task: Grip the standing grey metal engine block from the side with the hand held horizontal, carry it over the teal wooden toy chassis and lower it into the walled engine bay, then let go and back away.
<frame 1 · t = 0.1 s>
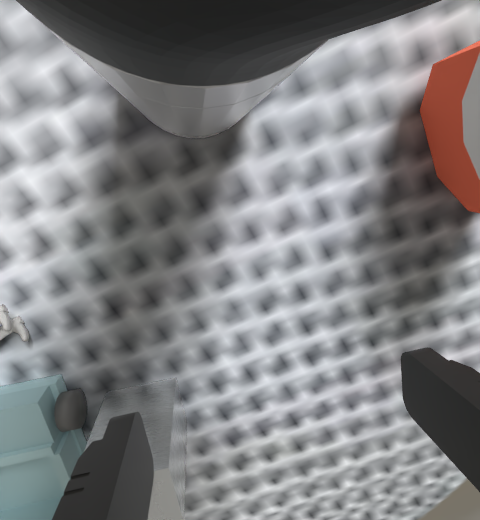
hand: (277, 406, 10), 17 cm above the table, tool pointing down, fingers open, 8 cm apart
engine block: (148, 406, 29), on the table
chassis: (31, 461, 29), on the table
french fries container: (448, 133, 26), on the table
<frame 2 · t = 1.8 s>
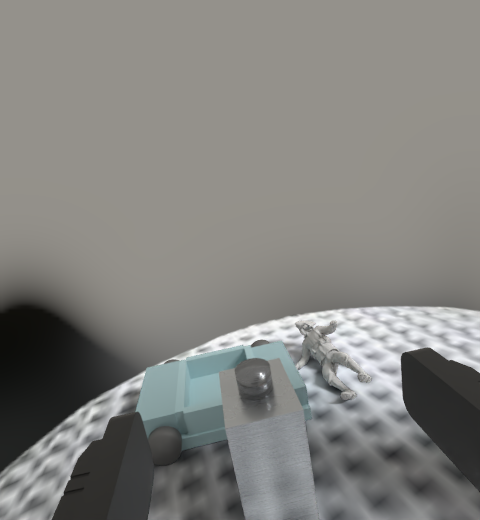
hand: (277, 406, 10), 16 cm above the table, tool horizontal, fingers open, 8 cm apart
engine block: (274, 490, 25), on the table
chassis: (223, 403, 35), on the table
soldier figure: (328, 371, 38), on the table
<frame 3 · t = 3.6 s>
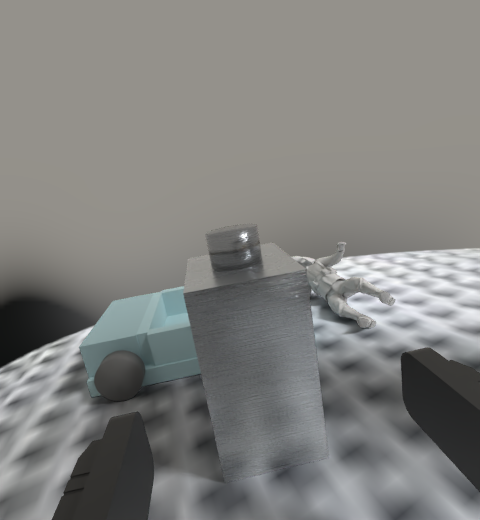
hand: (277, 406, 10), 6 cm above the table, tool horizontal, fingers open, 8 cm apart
engine block: (264, 423, 18), on the table
chassis: (205, 339, 28), on the table
soldier figure: (335, 307, 31), on the table, touching chassis
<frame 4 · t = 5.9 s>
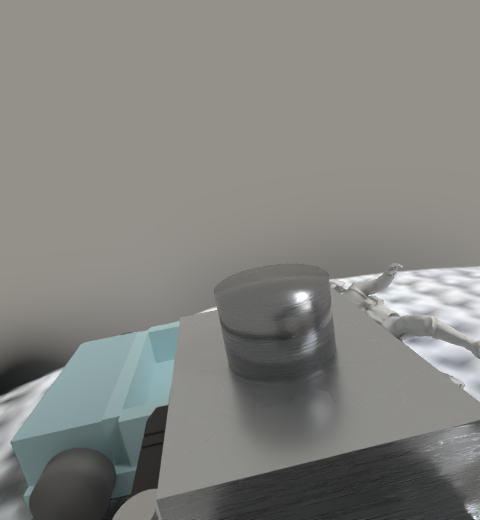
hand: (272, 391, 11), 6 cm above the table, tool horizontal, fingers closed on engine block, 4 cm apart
chassis: (208, 403, 20), on the table
soldier figure: (384, 352, 23), on the table
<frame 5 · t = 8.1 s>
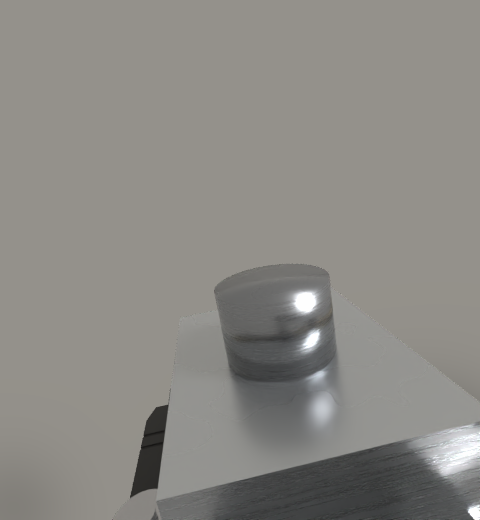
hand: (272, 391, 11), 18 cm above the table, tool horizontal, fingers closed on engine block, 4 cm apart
when the fingers open (8 cm above the table, at t = 10.3 s): engine block drops 1 cm, resting on chassis.
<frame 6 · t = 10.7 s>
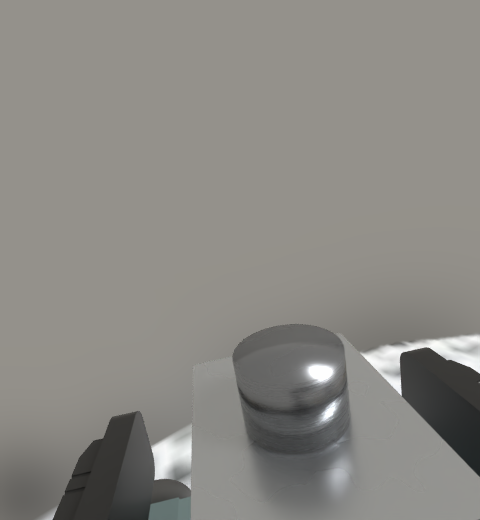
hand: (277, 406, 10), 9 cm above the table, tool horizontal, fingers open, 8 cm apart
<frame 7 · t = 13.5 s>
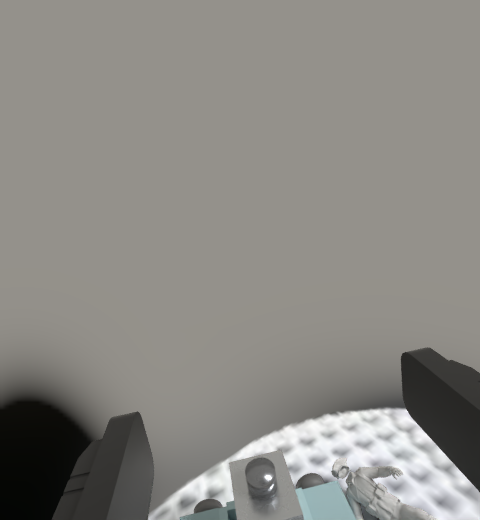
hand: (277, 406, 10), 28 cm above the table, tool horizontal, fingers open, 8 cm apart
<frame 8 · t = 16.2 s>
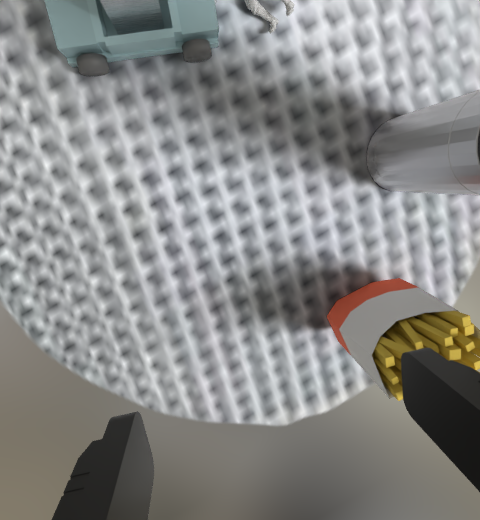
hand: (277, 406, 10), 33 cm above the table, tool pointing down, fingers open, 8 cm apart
engine block: (135, 0, 34), point 1 cm above the table, touching chassis
chassis: (135, 5, 35), on the table
french fries container: (358, 302, 47), on the table
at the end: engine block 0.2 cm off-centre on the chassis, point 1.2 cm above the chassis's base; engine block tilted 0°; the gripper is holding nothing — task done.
